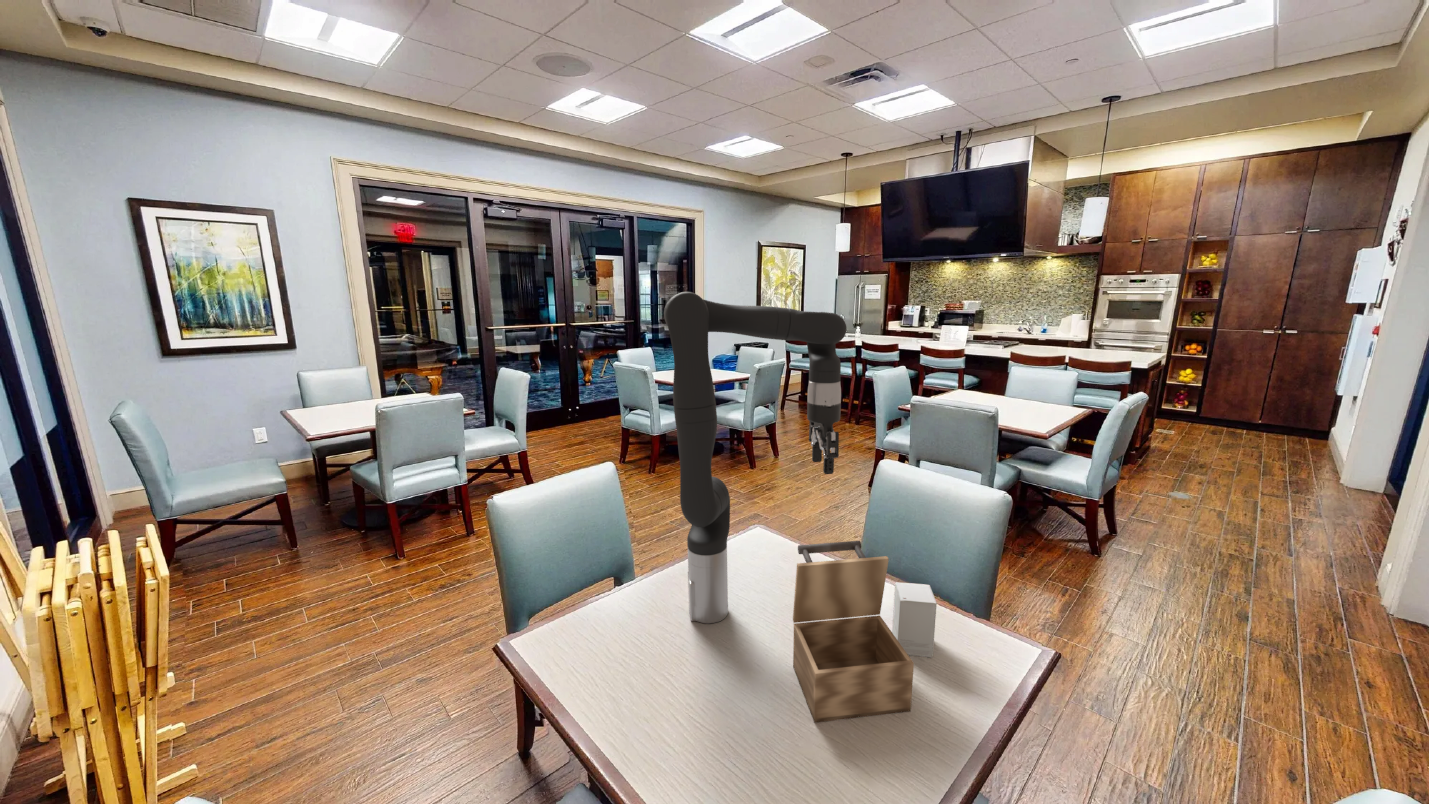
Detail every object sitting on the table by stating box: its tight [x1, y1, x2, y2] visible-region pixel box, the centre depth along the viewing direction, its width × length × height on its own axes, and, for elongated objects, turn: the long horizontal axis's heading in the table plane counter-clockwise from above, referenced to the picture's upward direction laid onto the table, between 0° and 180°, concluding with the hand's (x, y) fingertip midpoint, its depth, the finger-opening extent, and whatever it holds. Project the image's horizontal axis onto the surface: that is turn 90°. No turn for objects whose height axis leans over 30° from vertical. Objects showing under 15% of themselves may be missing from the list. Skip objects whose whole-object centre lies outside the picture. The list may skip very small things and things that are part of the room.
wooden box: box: [792, 614, 915, 724], centre depth 98 cm, size 18×14×10 cm
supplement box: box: [891, 581, 938, 658], centre depth 110 cm, size 7×7×13 cm
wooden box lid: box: [792, 540, 890, 624], centre depth 105 cm, size 18×14×9 cm
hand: (822, 467), depth 122 cm, fingers open, 8 cm apart
